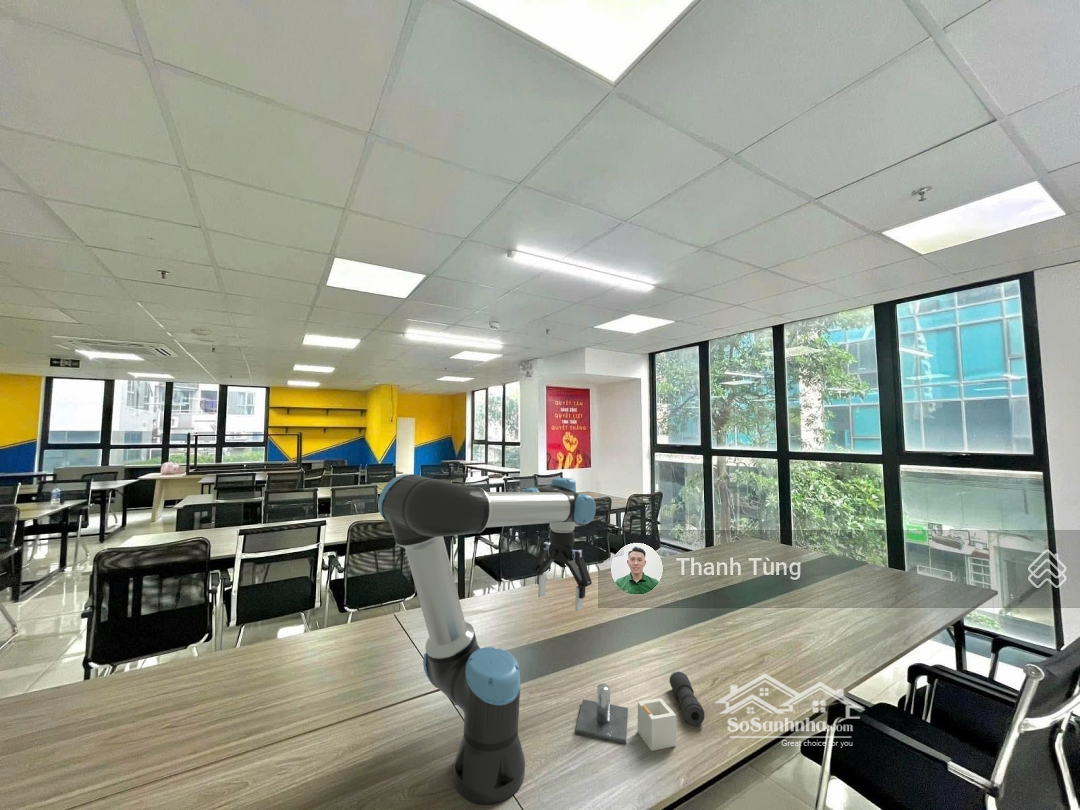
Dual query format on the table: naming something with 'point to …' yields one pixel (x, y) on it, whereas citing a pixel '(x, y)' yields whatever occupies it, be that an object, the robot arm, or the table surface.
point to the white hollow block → (656, 724)
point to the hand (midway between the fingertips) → (559, 602)
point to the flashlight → (686, 698)
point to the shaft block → (603, 718)
